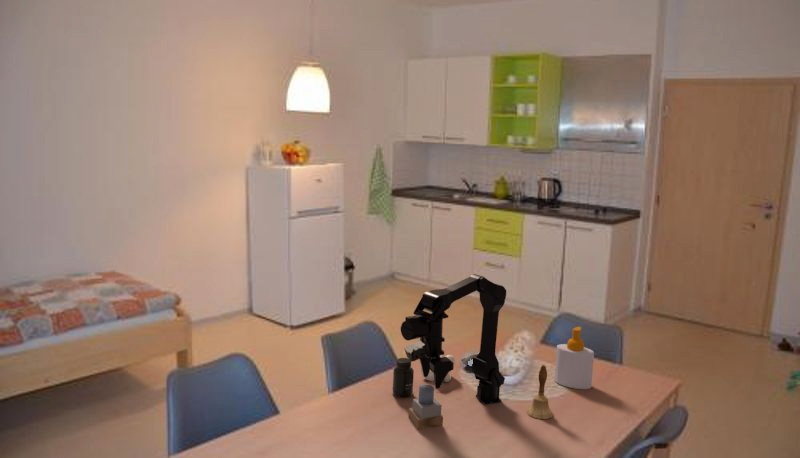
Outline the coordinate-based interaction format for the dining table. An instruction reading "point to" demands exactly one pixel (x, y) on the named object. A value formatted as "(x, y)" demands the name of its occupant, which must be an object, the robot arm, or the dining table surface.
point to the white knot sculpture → (431, 374)
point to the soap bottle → (574, 363)
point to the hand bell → (540, 399)
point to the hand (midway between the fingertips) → (431, 382)
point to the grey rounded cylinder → (426, 394)
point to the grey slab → (427, 409)
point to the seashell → (468, 359)
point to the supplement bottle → (403, 378)
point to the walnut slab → (425, 420)
